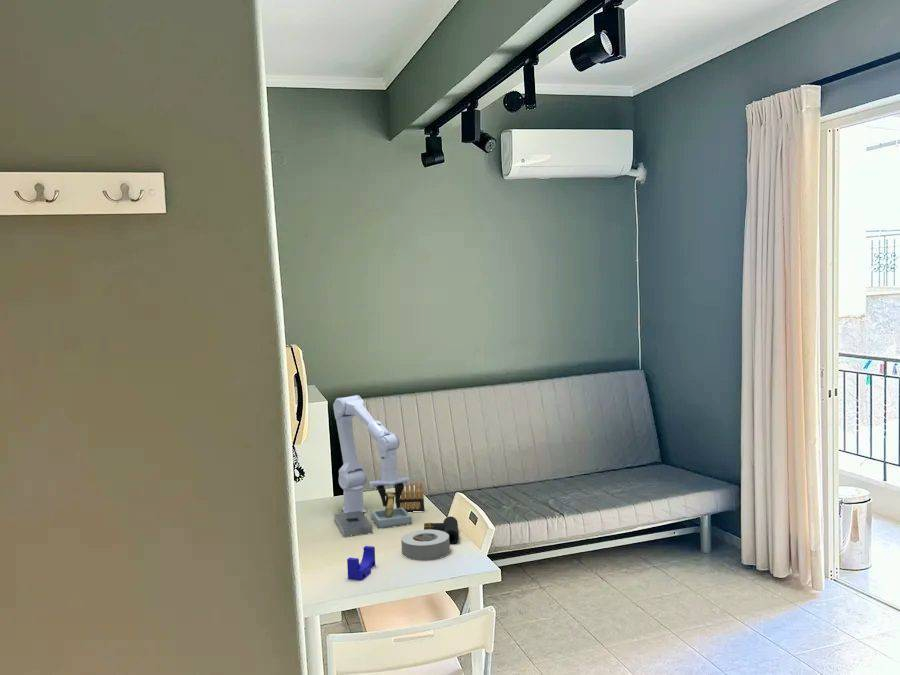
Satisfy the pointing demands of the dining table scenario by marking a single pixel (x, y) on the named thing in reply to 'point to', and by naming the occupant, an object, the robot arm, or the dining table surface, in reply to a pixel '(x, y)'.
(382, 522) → the tray
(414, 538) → the tape roll
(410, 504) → the ammunition clip
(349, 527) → the metal plate with hole
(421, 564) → the dining table surface
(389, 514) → the gold flared cylinder
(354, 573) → the cable clip
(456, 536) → the black power drill
